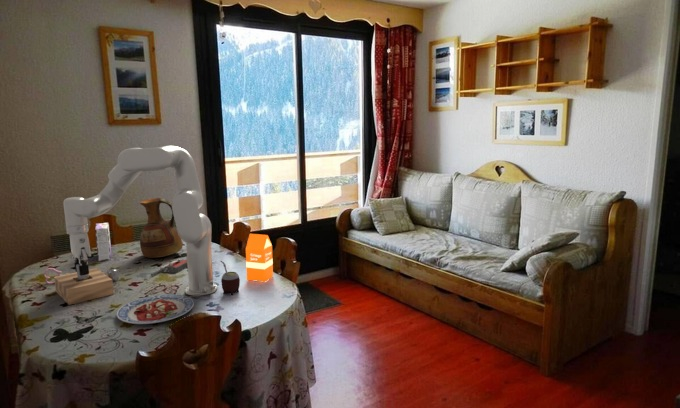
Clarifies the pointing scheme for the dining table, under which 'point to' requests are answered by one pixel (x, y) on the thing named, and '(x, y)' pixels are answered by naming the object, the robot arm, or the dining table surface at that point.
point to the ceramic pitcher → (158, 231)
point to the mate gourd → (230, 282)
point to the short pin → (113, 274)
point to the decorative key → (49, 277)
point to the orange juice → (259, 258)
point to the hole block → (83, 286)
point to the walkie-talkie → (173, 266)
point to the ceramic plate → (155, 309)
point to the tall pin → (80, 278)
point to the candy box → (103, 241)
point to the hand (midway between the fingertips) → (82, 272)
